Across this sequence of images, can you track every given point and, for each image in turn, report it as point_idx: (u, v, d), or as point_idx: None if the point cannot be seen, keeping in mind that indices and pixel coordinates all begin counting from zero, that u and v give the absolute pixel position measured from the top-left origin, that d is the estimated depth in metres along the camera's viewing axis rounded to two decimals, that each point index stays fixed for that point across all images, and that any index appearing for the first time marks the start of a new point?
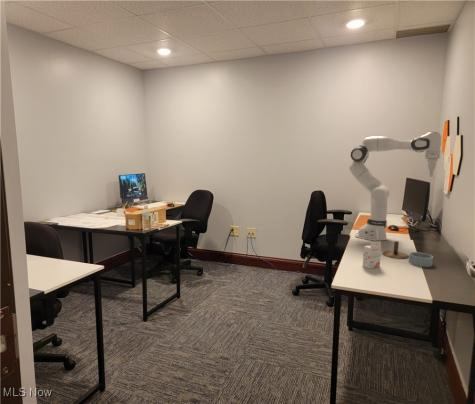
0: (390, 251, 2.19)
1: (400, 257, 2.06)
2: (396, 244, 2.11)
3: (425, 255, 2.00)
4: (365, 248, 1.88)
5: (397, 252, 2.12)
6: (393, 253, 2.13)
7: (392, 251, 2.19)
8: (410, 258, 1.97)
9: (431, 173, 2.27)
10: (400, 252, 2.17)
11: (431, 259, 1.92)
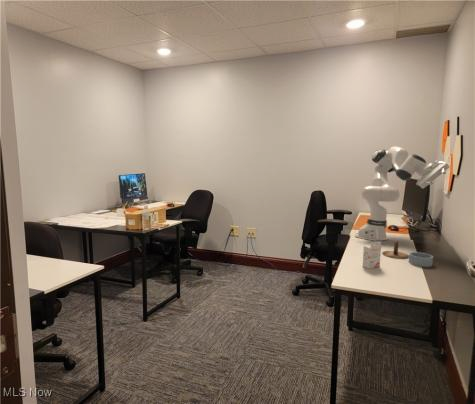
0: (390, 251, 2.19)
1: (400, 257, 2.06)
2: (396, 244, 2.11)
3: (425, 255, 2.00)
4: (365, 248, 1.88)
5: (397, 252, 2.12)
6: (393, 253, 2.13)
7: (392, 251, 2.19)
8: (410, 258, 1.97)
9: (444, 170, 2.08)
10: (400, 252, 2.17)
11: (431, 259, 1.92)
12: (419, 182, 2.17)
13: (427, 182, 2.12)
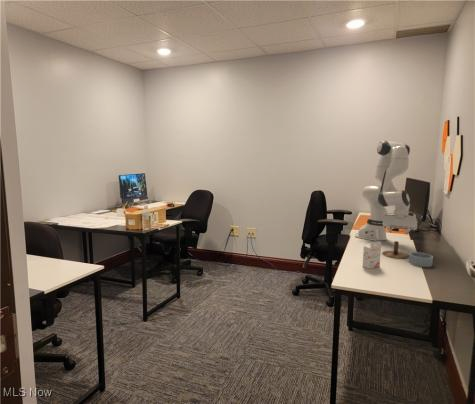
0: (390, 251, 2.19)
1: (400, 257, 2.06)
2: (396, 244, 2.11)
3: (425, 255, 2.00)
4: (365, 248, 1.88)
5: (397, 252, 2.12)
6: (393, 253, 2.13)
7: (392, 251, 2.19)
8: (410, 258, 1.97)
9: (408, 231, 2.16)
10: (400, 252, 2.17)
11: (431, 259, 1.92)
12: (385, 220, 2.24)
13: (389, 227, 2.21)
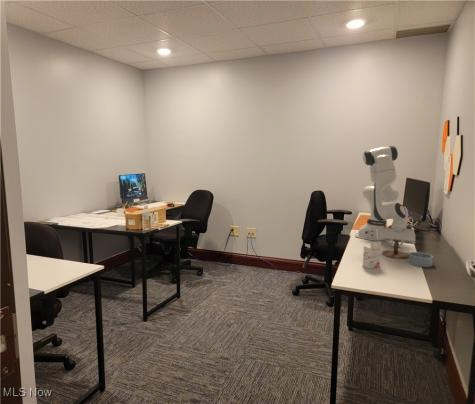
0: (390, 251, 2.19)
1: (400, 256, 2.06)
2: (396, 244, 2.11)
3: (425, 255, 2.00)
4: (365, 248, 1.88)
5: (397, 252, 2.12)
6: (393, 253, 2.13)
7: (392, 251, 2.19)
8: (410, 258, 1.97)
9: (401, 244, 2.12)
10: (400, 252, 2.17)
11: (431, 259, 1.92)
12: (383, 233, 2.19)
13: (391, 242, 2.14)
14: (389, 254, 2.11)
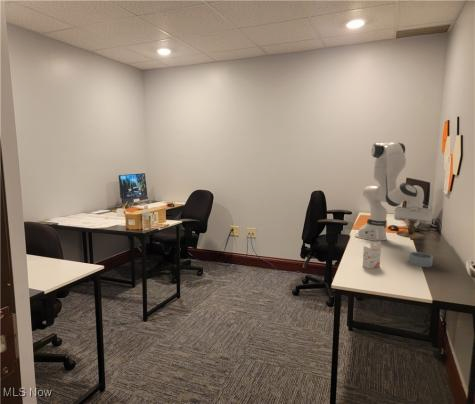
0: (404, 231, 2.07)
1: (416, 236, 1.95)
2: (412, 223, 2.00)
3: (425, 255, 2.00)
4: (365, 248, 1.88)
5: (412, 232, 2.01)
6: (408, 233, 2.02)
7: None
8: (410, 258, 1.97)
9: (417, 224, 2.00)
10: (415, 233, 2.06)
11: (431, 259, 1.92)
12: (397, 212, 2.07)
13: (406, 221, 2.03)
14: (404, 234, 2.00)
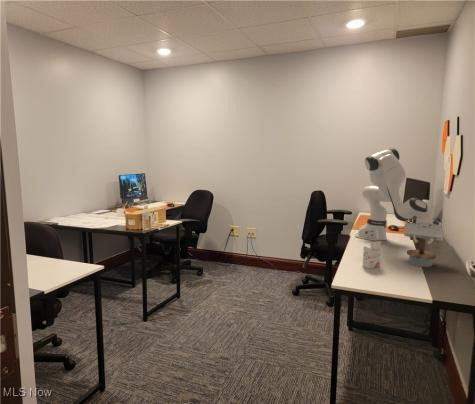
0: (415, 250, 2.03)
1: (427, 257, 1.90)
2: (422, 243, 1.95)
3: None
4: (365, 248, 1.88)
5: (423, 251, 1.96)
6: (419, 252, 1.97)
7: (417, 250, 2.03)
8: (410, 258, 1.97)
9: (431, 241, 1.95)
10: (426, 251, 2.01)
11: (431, 259, 1.92)
12: (407, 229, 2.02)
13: (414, 238, 1.98)
14: (415, 254, 1.95)
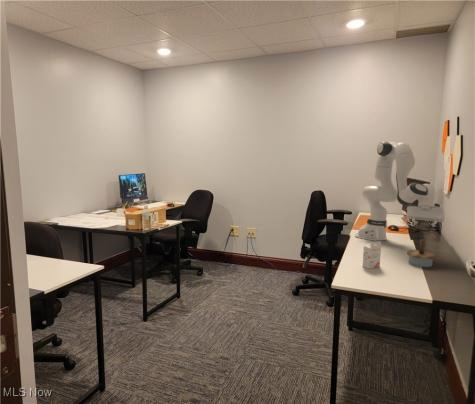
0: (415, 250, 2.03)
1: (427, 257, 1.90)
2: (422, 243, 1.95)
3: None
4: (365, 248, 1.88)
5: (423, 251, 1.96)
6: (419, 252, 1.97)
7: (417, 250, 2.03)
8: (410, 258, 1.97)
9: (435, 223, 2.02)
10: (426, 251, 2.01)
11: (431, 259, 1.92)
12: (409, 211, 2.11)
13: (413, 219, 2.07)
14: (415, 254, 1.95)
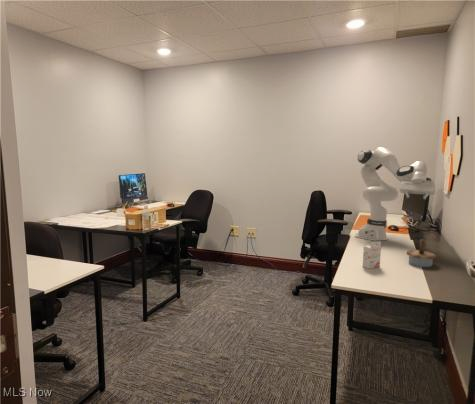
0: (415, 250, 2.03)
1: (427, 257, 1.90)
2: (422, 243, 1.95)
3: None
4: (365, 248, 1.88)
5: (423, 251, 1.96)
6: (419, 252, 1.97)
7: (417, 250, 2.03)
8: (410, 258, 1.97)
9: (426, 196, 2.14)
10: (426, 251, 2.01)
11: (431, 259, 1.92)
12: (402, 186, 2.22)
13: (406, 193, 2.19)
14: (415, 254, 1.95)
